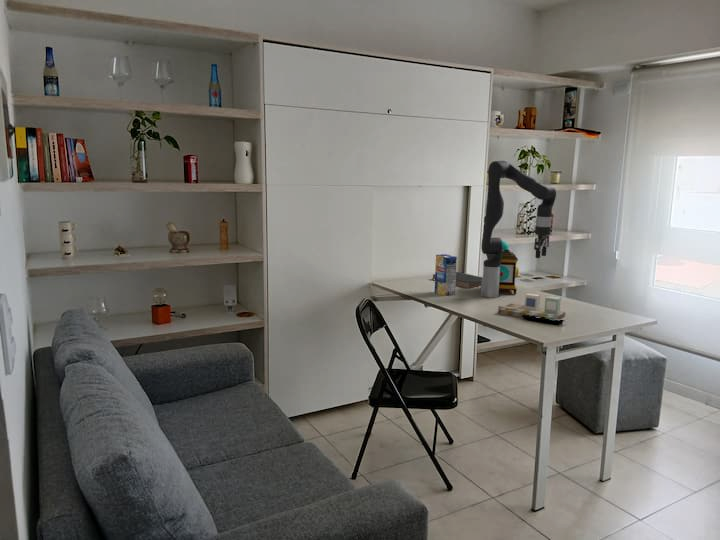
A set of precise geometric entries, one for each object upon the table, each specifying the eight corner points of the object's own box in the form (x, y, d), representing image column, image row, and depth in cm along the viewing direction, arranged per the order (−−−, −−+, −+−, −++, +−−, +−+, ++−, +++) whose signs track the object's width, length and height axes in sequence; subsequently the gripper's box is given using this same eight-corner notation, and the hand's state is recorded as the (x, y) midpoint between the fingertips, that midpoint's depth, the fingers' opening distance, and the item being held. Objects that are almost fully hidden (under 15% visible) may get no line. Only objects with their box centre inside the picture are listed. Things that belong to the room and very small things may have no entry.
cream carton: (524, 310, 275) (525, 294, 274) (527, 308, 279) (528, 293, 277) (536, 312, 272) (537, 296, 271) (539, 310, 275) (540, 294, 274)
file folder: (432, 274, 361) (459, 271, 375) (431, 280, 362) (458, 277, 375) (469, 282, 334) (496, 279, 348) (468, 289, 335) (496, 285, 349)
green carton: (544, 313, 269) (545, 297, 268) (547, 312, 273) (548, 296, 271) (556, 315, 266) (558, 299, 265) (559, 314, 269) (560, 297, 268)
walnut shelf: (497, 313, 277) (498, 306, 277) (510, 307, 290) (510, 300, 290) (554, 322, 261) (555, 315, 260) (565, 315, 274) (565, 308, 273)
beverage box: (445, 296, 314) (446, 257, 310) (434, 292, 324) (435, 254, 320) (455, 295, 317) (456, 256, 313) (444, 291, 327) (445, 254, 323)
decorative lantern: (482, 293, 321) (485, 242, 316) (481, 287, 340) (484, 238, 335) (518, 295, 317) (522, 243, 312) (515, 288, 337) (518, 239, 331)
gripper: (545, 227, 273) (543, 259, 277) (555, 224, 284) (552, 256, 288) (530, 225, 278) (528, 257, 281) (541, 223, 289) (538, 254, 292)
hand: (540, 257), depth 284 cm, fingers open, 8 cm apart
